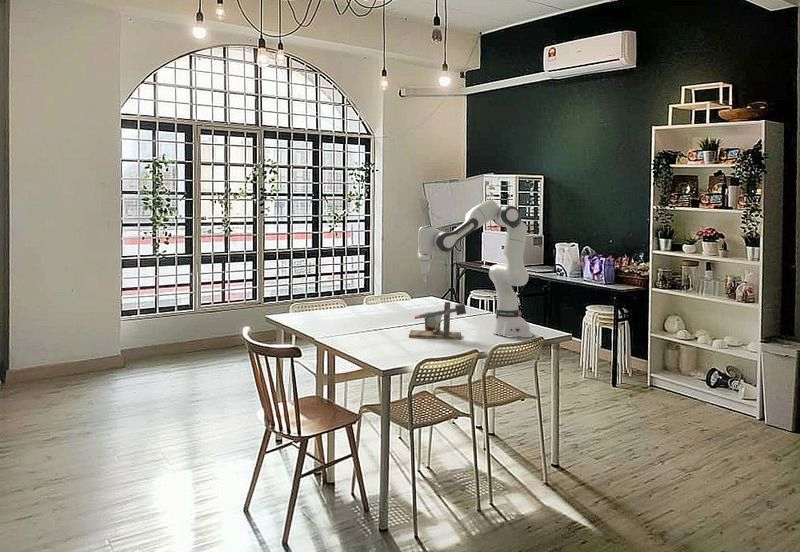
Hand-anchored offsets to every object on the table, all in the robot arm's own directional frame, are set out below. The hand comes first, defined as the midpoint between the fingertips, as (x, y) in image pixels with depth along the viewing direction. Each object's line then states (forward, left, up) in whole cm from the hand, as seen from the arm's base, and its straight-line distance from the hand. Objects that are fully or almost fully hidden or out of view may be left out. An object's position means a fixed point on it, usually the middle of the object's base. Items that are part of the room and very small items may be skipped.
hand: (425, 280), depth 380 cm
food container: (-3, -12, -31) cm, 33 cm away
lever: (-10, +3, -22) cm, 24 cm away
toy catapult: (-6, +3, -30) cm, 31 cm away
